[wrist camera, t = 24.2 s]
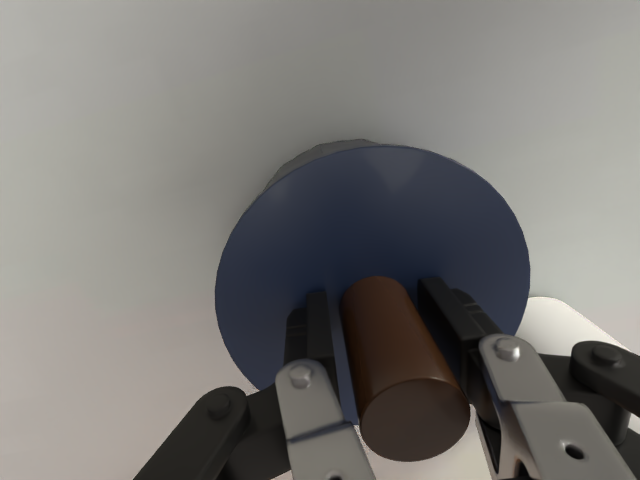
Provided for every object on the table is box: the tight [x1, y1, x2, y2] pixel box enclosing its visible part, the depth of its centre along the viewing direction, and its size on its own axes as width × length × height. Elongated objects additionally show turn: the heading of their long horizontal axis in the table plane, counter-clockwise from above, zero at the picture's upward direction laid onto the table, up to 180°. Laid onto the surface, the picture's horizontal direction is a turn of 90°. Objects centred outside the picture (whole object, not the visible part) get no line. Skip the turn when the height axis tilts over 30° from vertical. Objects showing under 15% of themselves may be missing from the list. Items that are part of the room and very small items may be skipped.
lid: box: [215, 144, 530, 462], centre depth 11 cm, size 11×11×6 cm
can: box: [515, 297, 640, 434], centre depth 16 cm, size 6×6×12 cm
